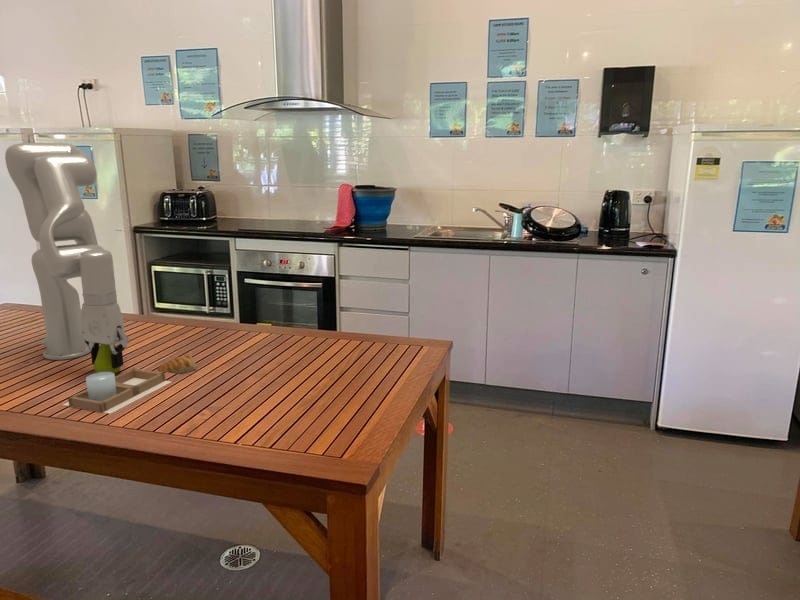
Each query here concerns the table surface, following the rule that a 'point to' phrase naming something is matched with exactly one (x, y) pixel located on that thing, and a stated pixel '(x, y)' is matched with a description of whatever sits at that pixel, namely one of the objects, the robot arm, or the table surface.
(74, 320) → the robot arm
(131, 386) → the tray
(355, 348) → the table surface
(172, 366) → the pastry
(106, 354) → the fruit
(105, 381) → the pale blue rounded block
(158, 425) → the table surface
